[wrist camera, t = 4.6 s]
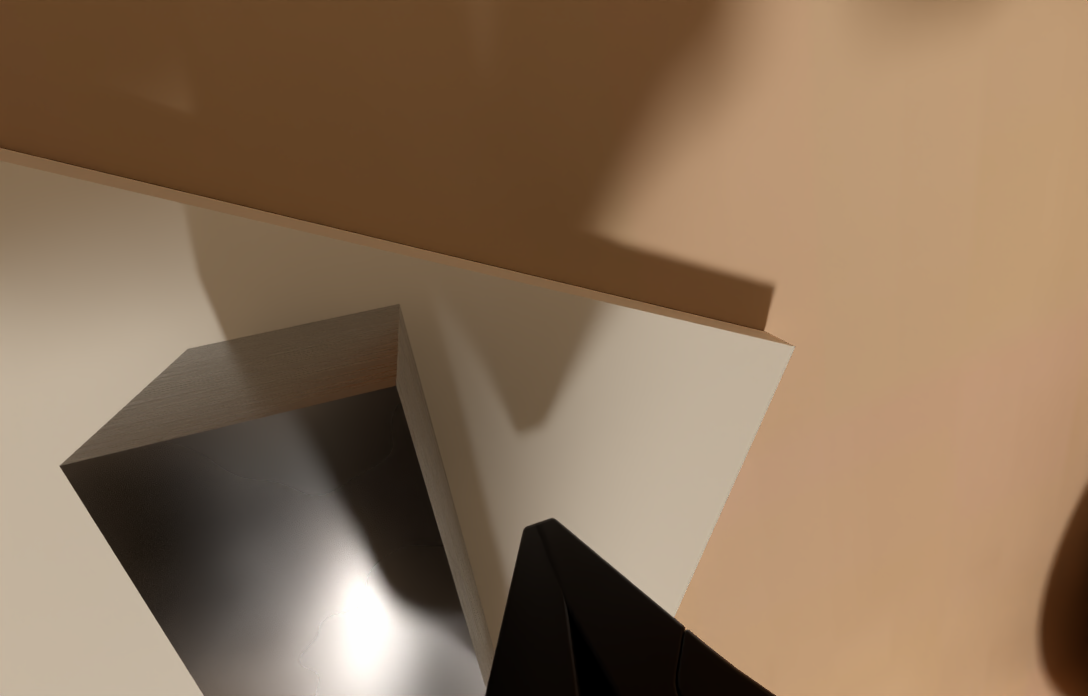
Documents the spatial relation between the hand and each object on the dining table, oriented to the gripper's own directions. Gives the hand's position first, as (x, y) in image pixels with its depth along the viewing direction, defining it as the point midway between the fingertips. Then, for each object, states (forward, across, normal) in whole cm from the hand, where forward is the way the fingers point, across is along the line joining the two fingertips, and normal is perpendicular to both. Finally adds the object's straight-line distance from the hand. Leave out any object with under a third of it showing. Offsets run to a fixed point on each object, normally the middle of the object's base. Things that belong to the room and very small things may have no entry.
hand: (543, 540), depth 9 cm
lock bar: (+1, +3, +3) cm, 4 cm away
